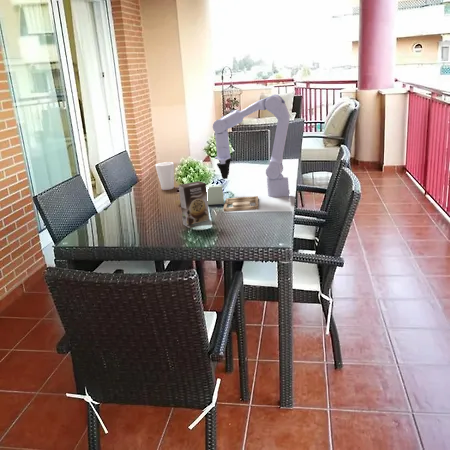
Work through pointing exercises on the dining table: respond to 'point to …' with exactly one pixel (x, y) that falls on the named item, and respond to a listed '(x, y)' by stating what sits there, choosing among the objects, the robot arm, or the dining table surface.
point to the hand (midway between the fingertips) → (225, 176)
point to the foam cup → (166, 175)
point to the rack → (241, 199)
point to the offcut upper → (241, 204)
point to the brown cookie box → (194, 203)
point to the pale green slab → (215, 195)
